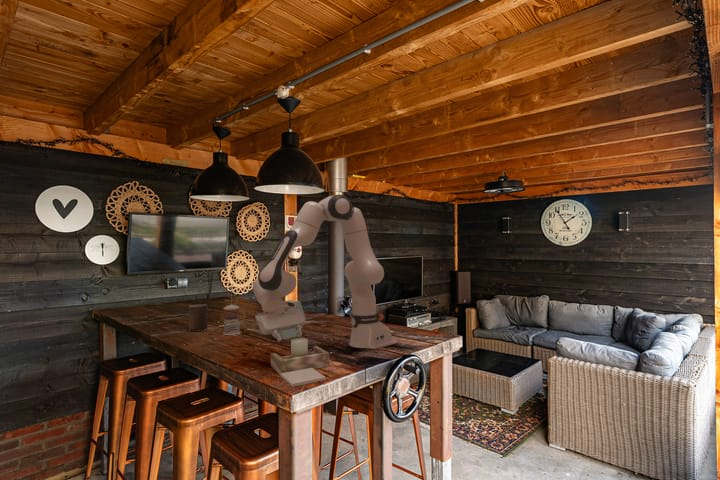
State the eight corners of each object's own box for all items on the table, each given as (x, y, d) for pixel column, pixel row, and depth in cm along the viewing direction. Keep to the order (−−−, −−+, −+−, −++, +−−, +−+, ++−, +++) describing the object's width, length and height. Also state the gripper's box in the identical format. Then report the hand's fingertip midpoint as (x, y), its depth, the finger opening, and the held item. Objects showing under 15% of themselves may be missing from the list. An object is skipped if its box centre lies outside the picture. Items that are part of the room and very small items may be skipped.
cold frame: (316, 358, 158) (316, 346, 158) (329, 366, 148) (329, 353, 148) (270, 366, 148) (270, 353, 148) (280, 375, 138) (280, 361, 138)
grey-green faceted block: (284, 343, 200) (299, 307, 209) (294, 345, 195) (309, 308, 205) (262, 331, 188) (279, 293, 198) (273, 332, 184) (290, 293, 193)
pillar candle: (206, 331, 211) (205, 303, 211) (186, 332, 208) (186, 304, 209) (208, 327, 220) (208, 301, 220) (190, 328, 218) (190, 302, 218)
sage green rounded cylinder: (304, 362, 153) (304, 337, 153) (310, 366, 147) (310, 340, 147) (288, 365, 149) (288, 339, 150) (294, 369, 144) (294, 342, 144)
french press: (222, 332, 208) (222, 285, 208) (245, 330, 211) (244, 285, 211) (221, 336, 198) (220, 287, 198) (244, 334, 201) (244, 286, 202)
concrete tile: (312, 370, 143) (312, 367, 143) (325, 380, 132) (325, 377, 132) (280, 376, 137) (280, 373, 137) (292, 386, 126) (292, 383, 127)
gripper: (256, 309, 149) (272, 338, 142) (298, 302, 164) (313, 328, 158) (250, 319, 152) (265, 348, 145) (291, 311, 167) (306, 337, 161)
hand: (290, 338), depth 152 cm, fingers open, 8 cm apart
